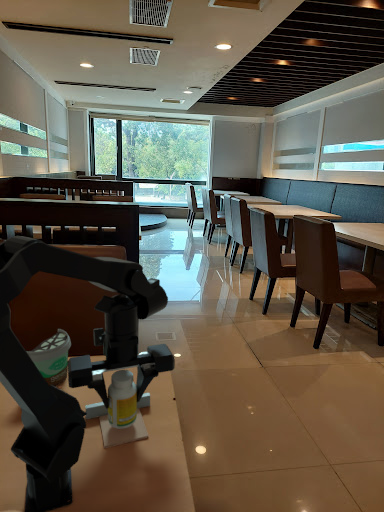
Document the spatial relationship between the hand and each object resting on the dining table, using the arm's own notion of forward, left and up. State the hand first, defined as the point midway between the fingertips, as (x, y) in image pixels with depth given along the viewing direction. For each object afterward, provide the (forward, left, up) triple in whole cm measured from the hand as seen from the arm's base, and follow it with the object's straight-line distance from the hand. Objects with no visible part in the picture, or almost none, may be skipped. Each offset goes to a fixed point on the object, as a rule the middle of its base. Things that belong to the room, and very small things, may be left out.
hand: (122, 403), depth 65 cm
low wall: (+5, 0, -5) cm, 7 cm away
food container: (+20, +12, -6) cm, 24 cm away
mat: (0, 0, -5) cm, 5 cm away
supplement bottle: (0, 0, -4) cm, 4 cm away
